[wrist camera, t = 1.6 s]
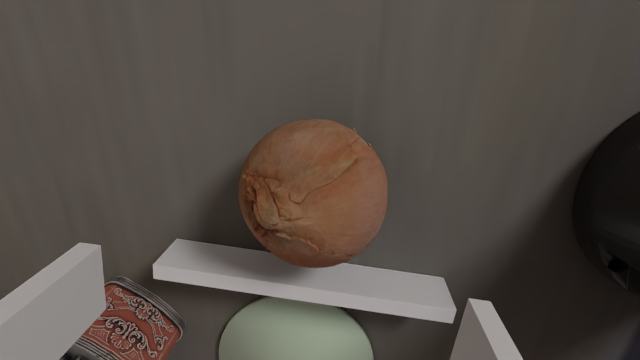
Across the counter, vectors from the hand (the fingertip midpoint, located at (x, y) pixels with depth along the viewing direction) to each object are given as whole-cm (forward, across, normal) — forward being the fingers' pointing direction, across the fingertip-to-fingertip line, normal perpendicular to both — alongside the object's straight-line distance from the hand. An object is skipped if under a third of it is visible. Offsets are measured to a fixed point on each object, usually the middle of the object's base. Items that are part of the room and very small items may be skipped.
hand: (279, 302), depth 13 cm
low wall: (+16, 0, +8) cm, 18 cm away
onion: (+16, 0, 0) cm, 16 cm away
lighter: (+16, +14, +15) cm, 26 cm away
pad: (+16, 0, +18) cm, 24 cm away
